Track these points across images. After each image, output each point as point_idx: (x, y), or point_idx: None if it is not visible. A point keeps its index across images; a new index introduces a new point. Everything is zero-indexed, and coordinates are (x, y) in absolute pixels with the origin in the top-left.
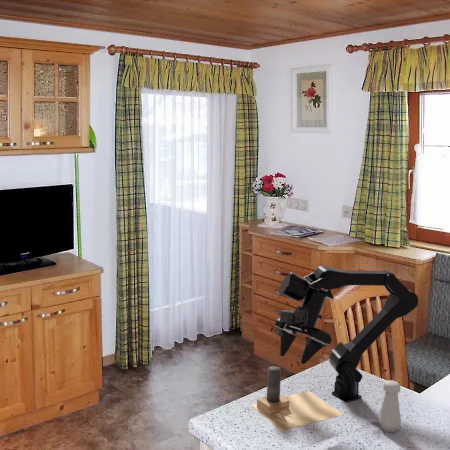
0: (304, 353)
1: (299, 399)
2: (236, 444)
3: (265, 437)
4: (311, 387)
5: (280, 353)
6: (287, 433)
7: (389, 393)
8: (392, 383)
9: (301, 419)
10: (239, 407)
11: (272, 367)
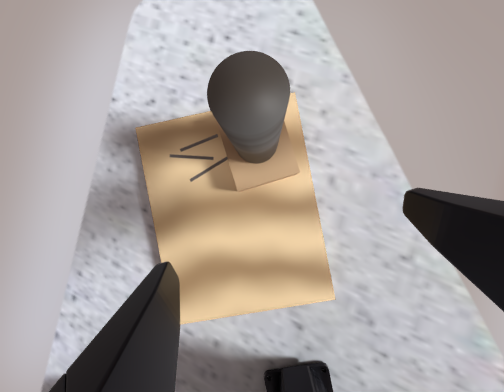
0: (109, 336)
1: (289, 245)
2: (135, 14)
3: (148, 92)
4: (382, 325)
5: (426, 190)
6: None
7: None
8: None
9: (177, 201)
10: (312, 72)
11: (270, 88)
